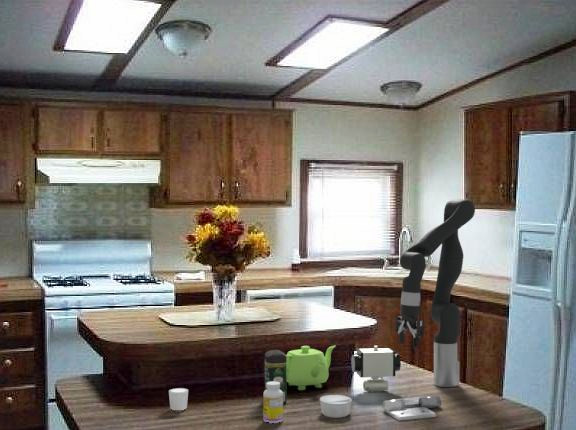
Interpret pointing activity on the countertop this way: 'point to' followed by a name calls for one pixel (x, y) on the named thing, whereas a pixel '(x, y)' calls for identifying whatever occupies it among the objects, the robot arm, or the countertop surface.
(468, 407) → the countertop surface
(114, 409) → the countertop surface
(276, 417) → the supplement bottle
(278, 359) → the coffee jar
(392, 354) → the ball valve
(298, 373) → the teapot
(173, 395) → the shot glass
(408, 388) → the countertop surface
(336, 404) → the ramekin
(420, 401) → the fixed leaf
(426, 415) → the loose leaf
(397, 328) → the robot arm
